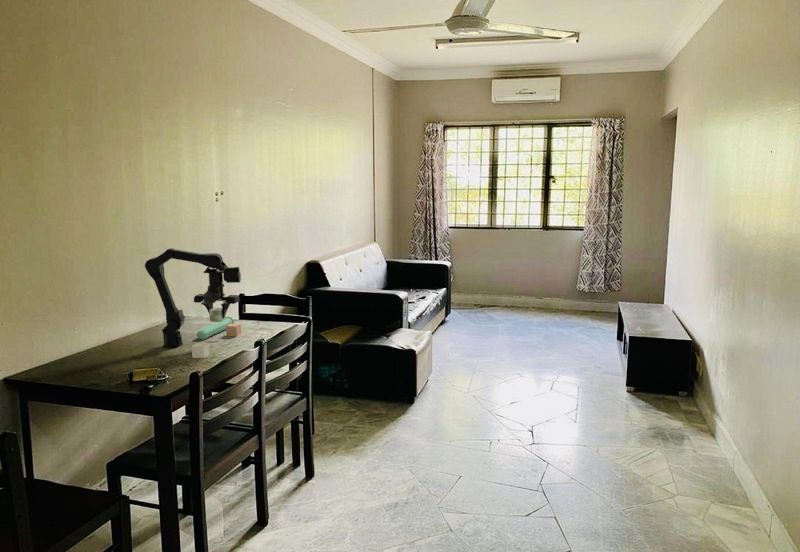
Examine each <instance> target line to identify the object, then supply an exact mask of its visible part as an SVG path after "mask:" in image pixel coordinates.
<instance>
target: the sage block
mask: <svg viewBox="0 0 800 552" xmlns="http://www.w3.org/2000/svg"><path fill="white" fill-rule="evenodd" d="M208 315H209V322H211V323H212V322H213V323H216V322H222V321H223V320H225V319H226V317H227V316H226V315H225V318H222V307H213V309H211V310H209V312H208Z"/></svg>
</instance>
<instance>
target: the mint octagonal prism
mask: <svg viewBox="0 0 800 552" xmlns="http://www.w3.org/2000/svg"><path fill="white" fill-rule="evenodd" d="M230 323H232V324H235V319H234V318H233V317H232V316H230V315H229V316H226V319H225V320H223V321H222V322H213V323H211V324H209V325H206V327H205V326H204V327H203V328H200V329H199V330H198V331H197V332H196V337H197V338H198V340H200V339H201V340H203V339H204V340H206V339H208V337H209V338H210V336H211V337H212V335H213V336H214V334H215V335H217V334H219V333H221V332H223V331H225V330H226V326H227V325H229V324H230ZM201 340H200V341H201Z"/></svg>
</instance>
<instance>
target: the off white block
mask: <svg viewBox="0 0 800 552" xmlns="http://www.w3.org/2000/svg"><path fill="white" fill-rule="evenodd" d="M191 354H192V358H194V359H205V358H206V357H208V356H209V355H210V343H209V342H196V343H194V344H193V345H191Z"/></svg>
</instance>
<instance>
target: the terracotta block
mask: <svg viewBox="0 0 800 552" xmlns="http://www.w3.org/2000/svg"><path fill="white" fill-rule="evenodd" d="M225 330H226V331H225V332H226V335H225V336H226V337H230V336H237V337H239V336H240V335H242V325H241V323H234V324H232V323H230V324H229V325H227V326H226V329H225ZM239 334H240V335H239ZM238 335H239V336H238Z"/></svg>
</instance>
